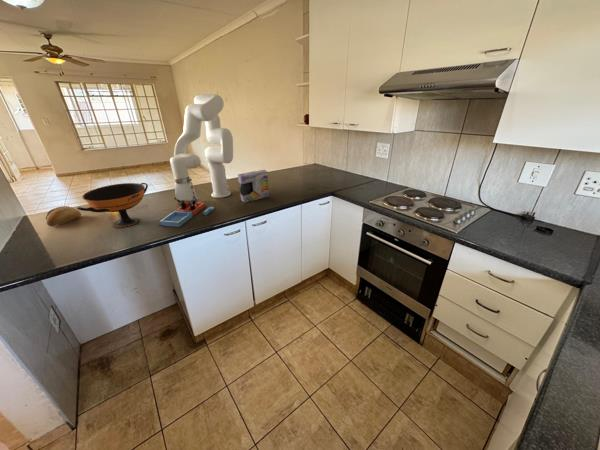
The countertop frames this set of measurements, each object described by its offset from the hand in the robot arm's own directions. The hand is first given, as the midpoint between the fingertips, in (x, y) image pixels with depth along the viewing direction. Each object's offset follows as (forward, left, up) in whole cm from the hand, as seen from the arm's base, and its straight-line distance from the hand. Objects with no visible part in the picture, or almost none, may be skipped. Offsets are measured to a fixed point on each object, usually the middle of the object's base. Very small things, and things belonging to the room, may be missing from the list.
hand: (189, 210), depth 141 cm
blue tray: (+12, 0, -1) cm, 12 cm away
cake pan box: (-25, +31, -1) cm, 40 cm away
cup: (+18, -25, -1) cm, 31 cm away
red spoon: (-2, 0, 0) cm, 2 cm away
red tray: (-2, 0, -1) cm, 2 cm away
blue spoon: (-2, +11, -1) cm, 11 cm away
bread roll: (+22, -58, -1) cm, 62 cm away
